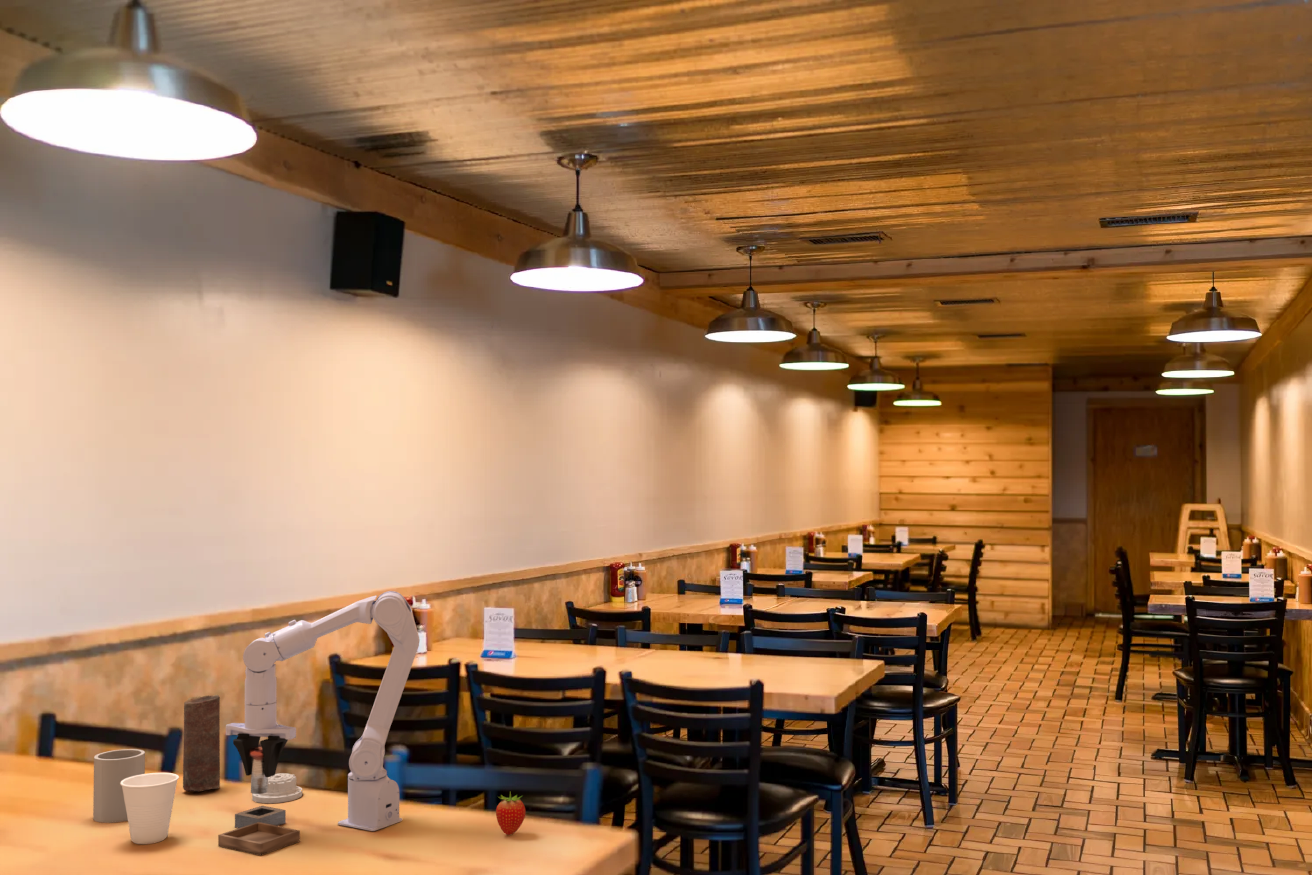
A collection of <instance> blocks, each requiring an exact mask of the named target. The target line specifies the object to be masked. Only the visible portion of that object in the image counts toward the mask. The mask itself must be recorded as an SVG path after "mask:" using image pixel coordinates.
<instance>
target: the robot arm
mask: <svg viewBox="0 0 1312 875" xmlns="http://www.w3.org/2000/svg"><path fill="white" fill-rule="evenodd" d="M373 621H374V622H375V623H376V624H377V625H378V626H379V627H380V628H381V629H383V630H384V632H385V633H387V637H389V639H390V641H391V643H392V644H393V648H392V651H391V654H390V657H389V660H388V663H387V666H386V669H385V671H384V674H383V677H382V680H381V683H380V685H379V688H378V691H377V694H376V696H375V699H374V702H373V706H372V708H371V711H370V714H369V717H368V720H367V721H366V724H365V727H364V729H363V730H364V731H363V733H362V735H361V737H360V738H359V739H357V740H356V741H355V743H354V745H353V746H352V750H351V754H350V756H349V759H348V766H349V771H350V772H349V773H348V774H347V818H345V819H342V820H340V821H338V822H337V824H338V825H340V826H343V827H344V826H345V827H349V828H356V829H360V830H365V831H371V832H375V831H379V830H381V829H384V828H386V827H389V826H391V825H394V824H397V823H400V822H402V821H403V817H400V787H399V784H398V782H396V780H393V779H391V778H389V777H388V775H387V774H388V773H387V772H388V771H387V770H386V769H385V768H384V767H383V765H384V757H385V754H386V748H385V745H386V742H387V740H388V735H389V731H390V729H391V725H392V723H393V721H394V719H395V718H394V717H395V714H396V712H397V709H398V706H399V704H400V700H401V698H402V694H403V691H404V689H405V686H406V684H407V680H408V678H409V674H410V672H411V669H412V666H413V663H414V660H415V659H416V658H415V657H416V656H417V652H418V649H419V647H420V640H421V639H420V635H419V632H418V628H417V625H416V622H415V617H414V613H413V610H412V607H411V605H410V604H409V602H408V601H407V600H406V598H405V597H404V595H403V594H401V593H400V592H398V591H394V590H389V591H388V590H387V591H385V592H382V593H381V594H380V595H378V596H377V595H372V596H369V597H365V598H363V599H360V600H356V601H355V602H353V603H351V604H349V605H347V606H344V607H343V608H341V609H338V610H336V611H334V612H331V613H330V614H328V615H326V616H324V617H322V618H319V619H317V620H315V621H313V622H309V621H307V620H303V619H301V620H298V621H297V620H296V619H293V620H290V621H288V623H287V624H288V625H287V626H285V627H283V628H280V629H278V630H276V631H273V632H271V631H268V632H266V633H264V637H259V638H257V639H254V640H253V641H251V643H249V644H248V645H247V646H246V647H245V649H244V651H243V655H242V661H243V663H244V665H245V679H244V722H231V723H228V724H226V725H225V736H232V735H236V738H235V739H233V740H232V743H233V746H234V747H235V749H236V750H237V752H238V754H239V756H240V758H241V761H242V764H243V769H244V772H245V776H246V777H247V776H251V772H252V757H251V756H249V752H250V749H251V748H254V747H259V744H260V747H262V750H263V755H264V772H265V777H271V776H274V775H275V774H277V773H276V772H277V769H278V763H279V761H280V757H281V754H283V753H282V752H283V750H284V748H285V746H286V744H287V742H288V741H290V740H293V739H296V738H297V727H296V726H290V725H289V726H287V725H283V724H278V722H277V712H278V711H277V709H278V708H277V705H278V704H277V691H278V690H277V686H278V684H277V683H278V682H277V676H276V669H277V668H276V666H277V665H276V662H284V661H286V660H289V659H291V658H292V657H294V656H297V655H300V654H301V653H304V652H306V651H308V650H311V649H313V648H315V645H316V643H317V640H318V638H321V637H324V636H325V635H328V634H330V633H333V632H335V631H338V630H340V629H344V628H346V627H348V626H350V625H352V624H356V623H360V624H368V625H371V624H372V622H373ZM261 737H262V738H266V739H263V740H261Z"/></svg>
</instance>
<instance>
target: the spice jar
mask: <svg viewBox="0 0 1312 875" xmlns="http://www.w3.org/2000/svg"><path fill="white" fill-rule="evenodd" d="M249 756H251V757H252V772H251V775H250V780H251V781H250V793H251V795H252V794H263V793H266V792H267V791H268V777H265V772H264V755H263V750H262V747H261V746H258V747H254V748H251V749H250V752H249Z"/></svg>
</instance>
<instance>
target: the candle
mask: <svg viewBox="0 0 1312 875" xmlns="http://www.w3.org/2000/svg"><path fill="white" fill-rule="evenodd" d="M220 699H221V698H220V695H219V694H214V695H204V696H191V697H189V698H187V700H186V701H184V703H183V753H182V754H183V759H182V762H183V763H182V771H183V772H182V774H183V775H182V789H183V790H184V791H186V792H194V793H199V792H204V791H208V790H211V789H214V790H216V789H217V790H218V789H219V788H220V787H221V786H220V784H221V783H220V782H221V779H220V778H221V776H220V775H221V763H220V761H221V755H220V754H221V753H220V752H221V751H220V750H221V747H220V743H221V738H220V735H221V734H220V730H221V729H220V728H221V726H220V722H221V721H220V720H221V719H220V716H221V715H220V714H221V712H220V710H221V708H220V707H221V705H220V704H221V703H220V701H221V700H220Z"/></svg>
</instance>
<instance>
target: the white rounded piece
mask: <svg viewBox="0 0 1312 875" xmlns="http://www.w3.org/2000/svg"><path fill="white" fill-rule="evenodd" d="M295 775H296V774H294V773H292V774H291V773H288V772H287V773H285V772H281V773H275V775H274V776H271V777H268V791H267V792H266V793H263V794H252V793H251V797H252V798H251V799H252V801H253V802H255V803H259V804H278V803H279V804H280V803H287V802H292V801H294V800H298V799H300V798H302V796H303V788H302V787H301V786H297V775H296V776H295ZM301 790H302V791H301Z"/></svg>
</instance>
